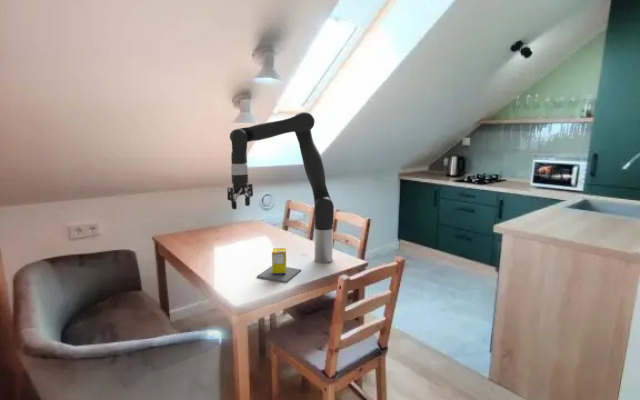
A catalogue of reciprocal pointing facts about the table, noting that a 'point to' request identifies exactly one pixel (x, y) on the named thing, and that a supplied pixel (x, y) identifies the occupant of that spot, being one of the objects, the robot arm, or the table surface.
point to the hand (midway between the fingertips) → (241, 207)
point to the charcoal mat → (280, 278)
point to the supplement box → (279, 261)
